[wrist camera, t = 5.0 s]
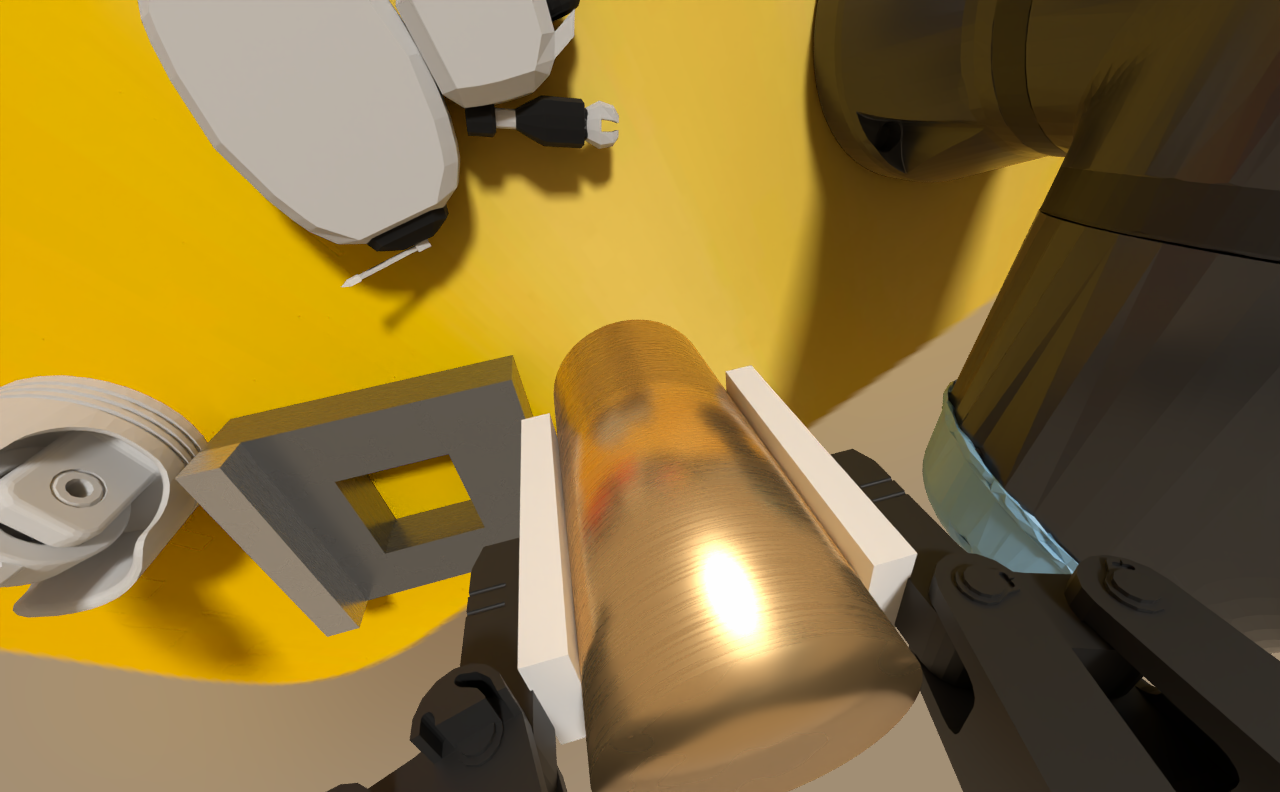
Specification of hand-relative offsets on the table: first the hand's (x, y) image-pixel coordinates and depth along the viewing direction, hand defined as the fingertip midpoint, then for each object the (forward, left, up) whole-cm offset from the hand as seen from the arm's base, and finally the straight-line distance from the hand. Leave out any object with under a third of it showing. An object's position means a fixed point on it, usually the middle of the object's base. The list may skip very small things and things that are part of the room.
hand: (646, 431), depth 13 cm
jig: (+13, +11, -15) cm, 23 cm away
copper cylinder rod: (0, 0, -2) cm, 2 cm away
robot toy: (+5, -10, -16) cm, 20 cm away
